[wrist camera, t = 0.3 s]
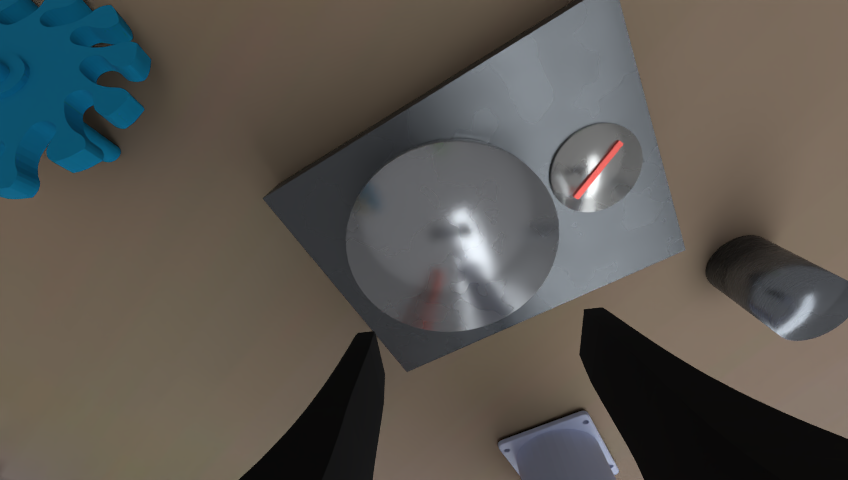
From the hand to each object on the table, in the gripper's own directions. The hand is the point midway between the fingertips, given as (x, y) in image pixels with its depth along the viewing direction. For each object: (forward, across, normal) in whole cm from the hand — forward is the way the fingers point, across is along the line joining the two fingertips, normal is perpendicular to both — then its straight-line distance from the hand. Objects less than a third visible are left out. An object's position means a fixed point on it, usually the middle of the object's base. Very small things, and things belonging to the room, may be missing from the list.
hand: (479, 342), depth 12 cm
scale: (+10, -2, -1) cm, 10 cm away
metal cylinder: (+10, -18, +5) cm, 21 cm away
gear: (+10, +18, -10) cm, 23 cm away
